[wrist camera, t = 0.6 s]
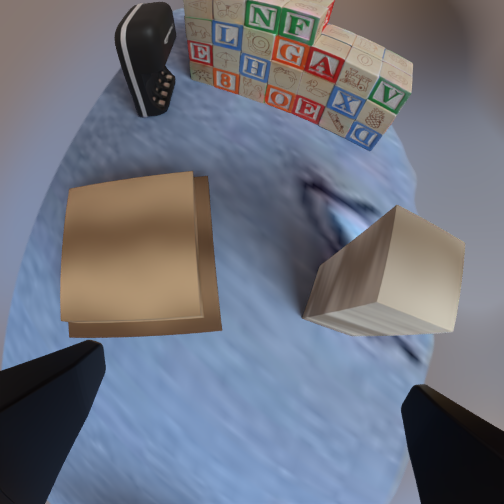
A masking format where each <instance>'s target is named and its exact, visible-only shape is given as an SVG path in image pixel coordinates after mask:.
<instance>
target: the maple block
mask: <svg viewBox="0 0 504 504" xmlns="http://www.w3.org/2000/svg"><path fill="white" fill-rule="evenodd" d="M60 306H61V321H65V322H73V323H112V322H141V321H161V320H178V319H192V318H204V313H203V301H202V290H201V277H200V263H199V247H198V230H197V209H196V187H195V182H194V176H193V171H188V172H179V173H169V174H161V175H153V176H145V177H137V178H130V179H123V180H117V181H110V182H104V183H98V184H93V185H87V186H82V187H76V188H71V189H69V195H68V201H67V208H66V216H65V224H64V234H63V245H62V259H61V287H60Z"/></svg>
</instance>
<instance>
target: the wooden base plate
mask: <svg viewBox="0 0 504 504" xmlns="http://www.w3.org/2000/svg"><path fill="white" fill-rule="evenodd" d="M194 182H195V187H196V209H197V230H198V247H199V263H200V277H201V290H202V301H203V313H204V318H192V319H178V320H161V321H141V322H112V323H73V322H68V324H69V337H70V338H110V337H141V336H160V335H176V334H190V333H202V332H213V331H222V324H221V315H220V306H219V297H218V287H217V277H216V267H215V256H214V245H213V233H212V221H211V208H210V194H209V182H208V176H202V177H194Z"/></svg>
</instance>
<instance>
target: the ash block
mask: <svg viewBox="0 0 504 504" xmlns="http://www.w3.org/2000/svg"><path fill="white" fill-rule="evenodd" d="M464 252H465V243H464V242H463V241H461V240H459V239H458V238H456V237H454V236H453V235H451V234H449V233H448V232H446V231H444V230H442V229H441V228H439V227H437V226H436V225H434V224H432V223H430V222H428V221H427V220H425V219H423V218H421V217H419V216H418V215H416V214H414V213H412V212H410V211H408V210H406V209H404V208H402V207H401V206H399V205H396V206H395V207H394V208H392V209H391V210H390V211H389V212H387V213H386V214H385V215H384V216H383V217H381V218H380V219H379V220H378V221H376V222H375V223H374V224H373V225H371V226H370V227H369V228H368V229H366V230H365V231H364V232H363V233H361V234H360V235H359V236H358V237H356V238H355V239H354V240H353V241H351V242H350V243H349V244H347V245H346V246H345V247H344V248H342V249H341V250H340V251H338V252H337V253H336V254H335V255H333V256H332V257H331V258H329V259H328V260H327V261H325V262H324V263H323V264H321V265H320V266H319V270H318V273H317V276H316V279H315V282H314V285H313V288H312V291H311V294H310V297H309V300H308V303H307V305H306V308H305V311H304V314H303V317H302V319H305V320H307V321H310V322H313V323H316V324H318V325H321V326H324V327H327V328H330V329H333V330H335V331H338V332H341V333H344V334H347V335H350V336H392V335H416V334H432V333H446V332H453V330H454V325H455V320H456V315H457V309H458V303H459V297H460V290H461V282H462V274H463V264H464Z"/></svg>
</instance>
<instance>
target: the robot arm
mask: <svg viewBox="0 0 504 504" xmlns="http://www.w3.org/2000/svg"><path fill="white" fill-rule="evenodd" d="M105 370H106V365H105V357H104V349H103V345H102V344H101V343H99V342H96V341H93V340H86V341H83V342H81V343H78V344H75V345H72V346H70V347H67V348H64V349H62V350H59V351H56V352H53V353H50V354H48V355H45V356H42V357H39V358H36V359H34V360H31V361H28V362H25V363H22V364H19V365H16V366H14V367H11V368H8V369H5V370H2V371H0V504H45V503H46V501H47V498H48V496H49V494H50V492H51V489H52V487H53V485H54V483H55V481H56V478H57V476H58V474H59V472H60V470H61V468H62V466H63V464H64V462H65V460H66V458H67V456H68V454H69V452H70V450H71V448H72V446H73V444H74V442H75V440H76V438H77V436H78V434H79V432H80V430H81V428H82V426H83V424H84V422H85V420H86V418H87V416H88V414H89V412H90V409H91V407H92V404H93V402H94V399H95V397H96V394H97V392H98V389H99V387H100V384H101V382H102V379H103V377H104V374H105ZM401 413H402V419H403V424H404V429H405V435H406V441H407V447H408V452H409V456H410V460H411V463H412V467H413V471H414V475H415V479H416V484H417V487H418V492H419V497H420V502H421V504H504V431H502V430H501V429H499V428H497V427H495V426H494V425H492V424H490V423H489V422H487V421H485V420H484V419H482V418H480V417H479V416H477V415H475V414H473V413H472V412H470V411H469V410H466V409H465V408H464V407H462V406H460V405H459V404H457V403H455V402H454V401H452V400H450V399H449V398H447V397H445V396H444V395H442V394H440V393H439V392H437V391H435V390H434V389H432V388H430V387H429V386H428V385H425V384H420V385H414V386H413V387H412V388H411V390H410V392H409V393H408V395H407V397H406V399H405V400H404V402H403V404H402V406H401Z"/></svg>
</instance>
